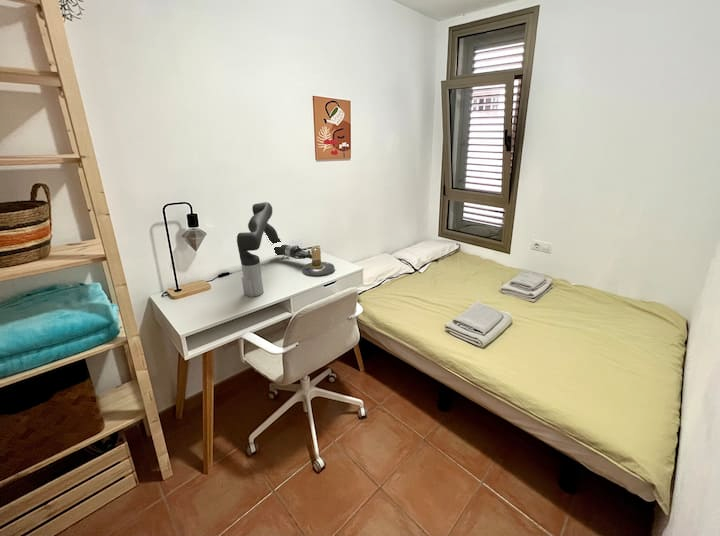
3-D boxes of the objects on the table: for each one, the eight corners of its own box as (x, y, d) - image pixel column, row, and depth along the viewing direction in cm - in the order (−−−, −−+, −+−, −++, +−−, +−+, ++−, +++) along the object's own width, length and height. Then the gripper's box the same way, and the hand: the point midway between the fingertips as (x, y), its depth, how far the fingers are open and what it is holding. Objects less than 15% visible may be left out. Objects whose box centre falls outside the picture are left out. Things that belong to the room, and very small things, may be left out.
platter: (318, 278, 195) (318, 275, 194) (295, 271, 206) (295, 268, 205) (340, 268, 210) (340, 265, 209) (317, 262, 221) (317, 259, 220)
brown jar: (317, 269, 203) (315, 250, 199) (308, 267, 207) (307, 248, 203) (324, 266, 209) (323, 247, 204) (316, 264, 213) (315, 245, 208)
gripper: (285, 249, 211) (304, 254, 201) (300, 244, 221) (319, 248, 211) (286, 260, 213) (305, 265, 204) (301, 254, 223) (320, 259, 214)
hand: (312, 257), depth 207 cm, fingers closed
